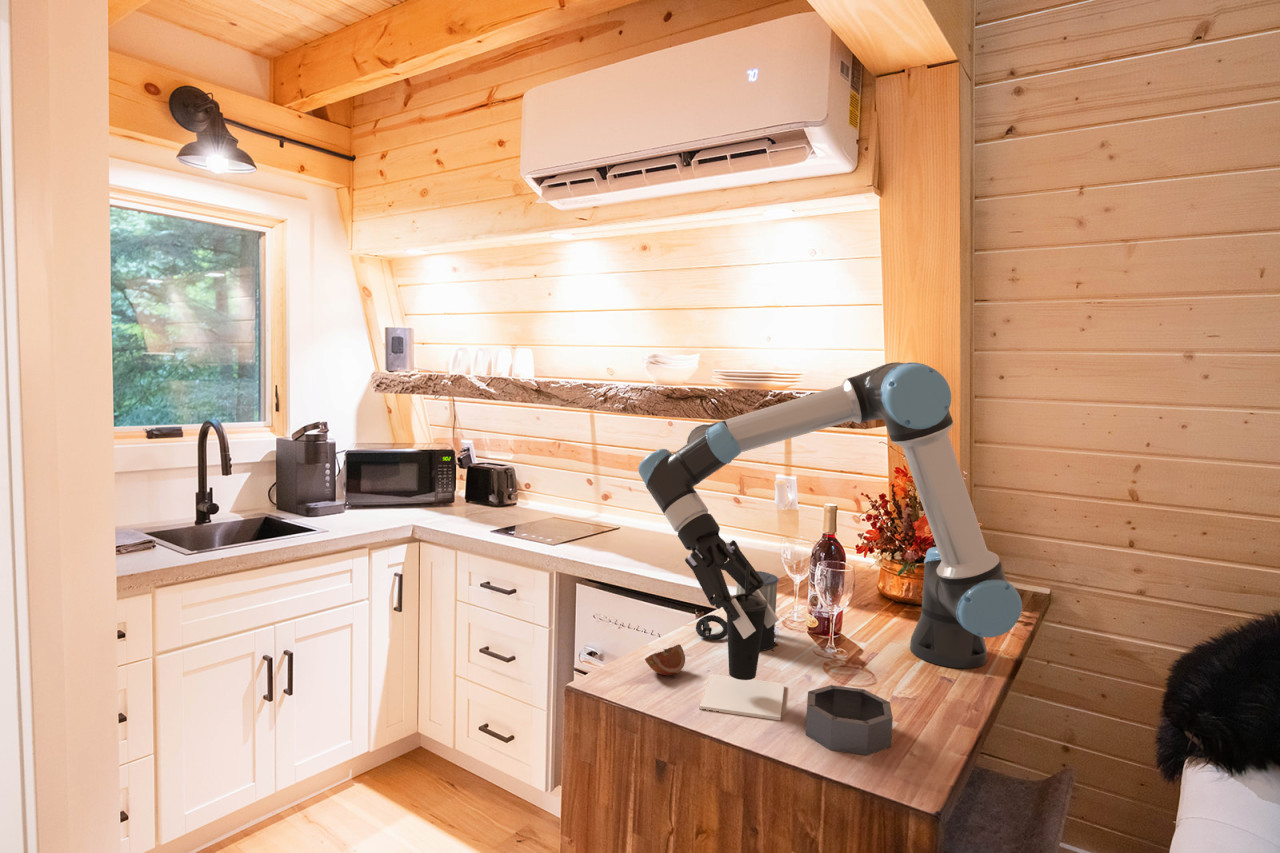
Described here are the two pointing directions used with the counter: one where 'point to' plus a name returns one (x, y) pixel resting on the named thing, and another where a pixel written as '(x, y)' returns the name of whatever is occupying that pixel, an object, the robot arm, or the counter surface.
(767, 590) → the milk frother
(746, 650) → the drinking cup
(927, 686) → the counter surface
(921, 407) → the robot arm
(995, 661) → the counter surface
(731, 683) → the coaster
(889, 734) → the grey octagonal ring
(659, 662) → the fruit slice
